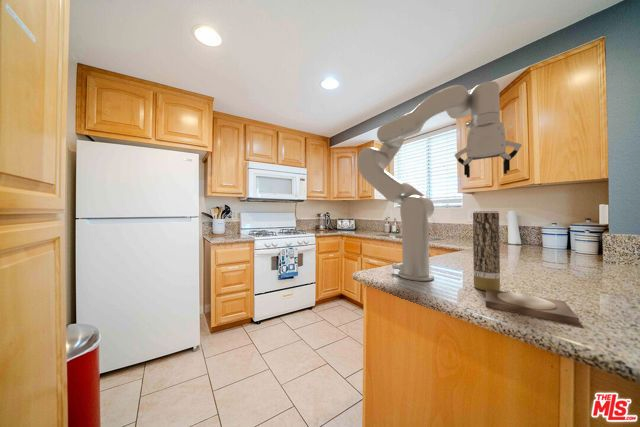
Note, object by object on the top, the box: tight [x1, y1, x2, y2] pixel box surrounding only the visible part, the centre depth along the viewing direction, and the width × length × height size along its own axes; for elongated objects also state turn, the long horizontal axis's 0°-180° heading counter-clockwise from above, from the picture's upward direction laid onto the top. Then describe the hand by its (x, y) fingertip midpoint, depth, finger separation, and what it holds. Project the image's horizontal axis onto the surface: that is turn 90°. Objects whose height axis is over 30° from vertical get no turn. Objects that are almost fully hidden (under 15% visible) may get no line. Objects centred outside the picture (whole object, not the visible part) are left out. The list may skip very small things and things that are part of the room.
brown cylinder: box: [472, 210, 501, 292], centre depth 71 cm, size 7×7×25 cm
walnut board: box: [485, 289, 580, 326], centre depth 57 cm, size 16×12×2 cm
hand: (486, 175), depth 72 cm, fingers open, 9 cm apart
